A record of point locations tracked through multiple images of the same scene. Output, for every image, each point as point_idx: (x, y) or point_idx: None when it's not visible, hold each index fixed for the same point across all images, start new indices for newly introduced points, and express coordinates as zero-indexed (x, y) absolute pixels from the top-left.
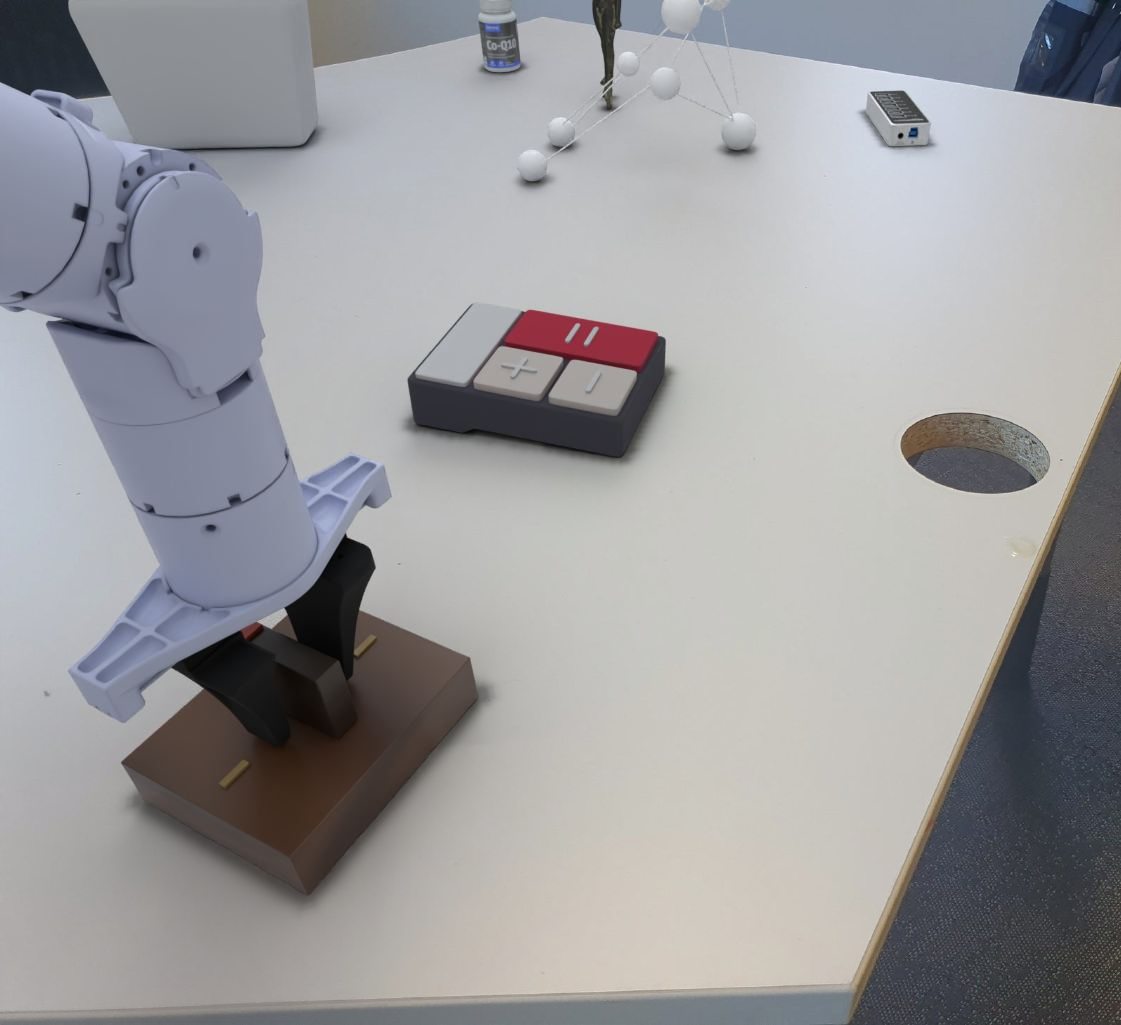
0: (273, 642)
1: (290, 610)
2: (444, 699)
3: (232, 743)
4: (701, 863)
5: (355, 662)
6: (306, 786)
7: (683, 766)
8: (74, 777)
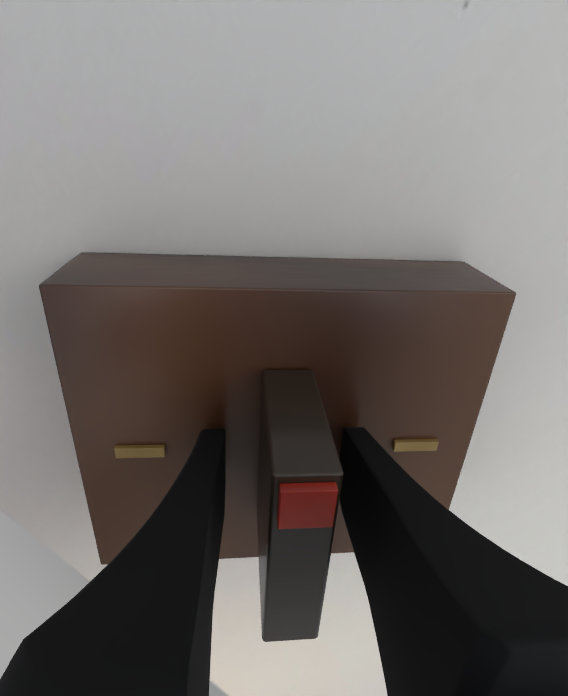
0: (304, 552)
1: (392, 523)
2: None
3: (177, 412)
4: (314, 669)
5: None
6: None
7: None
8: (29, 94)
